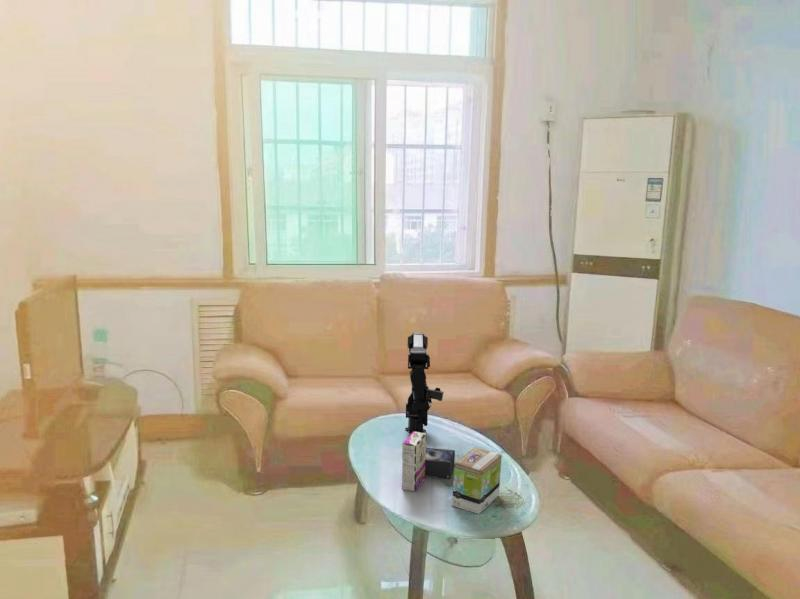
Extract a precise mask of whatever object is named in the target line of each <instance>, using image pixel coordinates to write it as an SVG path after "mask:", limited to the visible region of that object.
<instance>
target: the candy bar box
mask: <svg viewBox="0 0 800 599" xmlns="http://www.w3.org/2000/svg"><path fill="white" fill-rule="evenodd" d="M426 448H427V433H426V432H422V433H421V432H416V431H413V432H412V433H410V435H409V436H408V437H406V439H405V440H404V441H403V443H402V454H401V455H402V459H401V460H402V461H401V462H402V463H401V464H402V466H401V468H402V470H401V471H402V473H401V477H402V479H401V480H402V482H401V484H402V486H401V487H402V488H401V489H402V490H403V491H409V492H415V493H416V492H417V490H418V489H419V487H420V486H421V484H422V483H423V482H424V480H425V479H426V476H425V469H426Z"/></svg>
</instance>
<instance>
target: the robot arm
mask: <svg viewBox="0 0 800 599" xmlns="http://www.w3.org/2000/svg"><path fill="white" fill-rule="evenodd" d="M428 341H429V339H428V336H426V335H425V333H423V332H412V333H411V335H409V336H407V349H408V353H407V355H408V356H407V370H408V369H409V370H410V372H409V378H410V385H411V393H410V395H409V396H408V397H407V402H406V403H405V419H408V420H407V421H408V423H407V424H408V425H407V426H408V427H407V426H406V427H405V428H404V430H405V429H406V430H405V431H407V430H408V431H409V433H410V434H412V432H413V431H416V432H421V433H426V432H427V430H426V429H425V428H424V427H427V426H428V422H429V421H428V420H429V419H428V418H429V410H430V409H431V407H432V405H431V404H432V403H433V400H437V401H438V402H439V401H440V402H442V401H443V398H444V391H441V388H440V387H435V389H430V387H429V385H427V375H426V373H425V370H429V368H430V367H431V357H430V355H429V353H428V352H427V349H428V344H429V342H428ZM408 431H407V432H408Z"/></svg>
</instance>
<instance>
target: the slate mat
mask: <svg viewBox="0 0 800 599" xmlns="http://www.w3.org/2000/svg"><path fill="white" fill-rule="evenodd" d="M454 467H455V466H454ZM437 480H439V481H440V482H442V483H443V484H445V485H446V486H447V487H453V482H454V468H453V472H452V475H451V478H450V479H446V478H437Z"/></svg>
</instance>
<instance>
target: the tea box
mask: <svg viewBox="0 0 800 599" xmlns="http://www.w3.org/2000/svg"><path fill="white" fill-rule="evenodd" d="M502 457H503V456H502V454H500V453H498V452H494V451H489V450H486V449H482V448H480V447H476V446H475V447H473V448H472V449H471V450H470V451H468V452H467V453H466V454H464V455H463V456H462V457H460V458H459V459H458V460H456V461H455V463H454V464H455V467H454V482H453V485H452V500H451V506H453V507H455V508H458V509H461V510H463V511H467V512H470V511H471V512H470V513H473V512H474V513H473V514H476V513H477V515H480V514H481V513H482V512H483V511H484V510H485V509H486V508H488V507H489V505H490V504H492V503H493V501H494V500H496V499H497V498H498V497H499V495H500V483H501V473H502V472H501V471H502V470H501V469H502V468H501V467H502ZM497 496H498V497H497ZM495 498H496V499H495Z"/></svg>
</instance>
